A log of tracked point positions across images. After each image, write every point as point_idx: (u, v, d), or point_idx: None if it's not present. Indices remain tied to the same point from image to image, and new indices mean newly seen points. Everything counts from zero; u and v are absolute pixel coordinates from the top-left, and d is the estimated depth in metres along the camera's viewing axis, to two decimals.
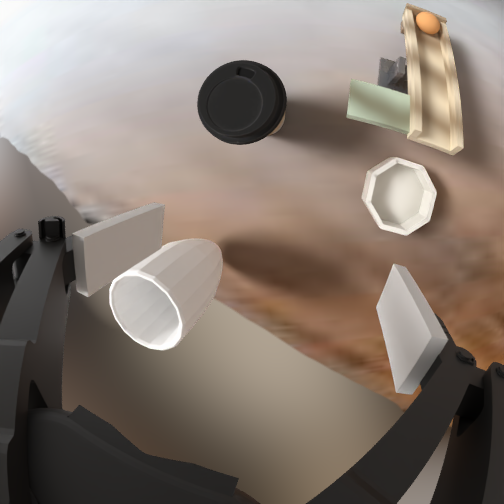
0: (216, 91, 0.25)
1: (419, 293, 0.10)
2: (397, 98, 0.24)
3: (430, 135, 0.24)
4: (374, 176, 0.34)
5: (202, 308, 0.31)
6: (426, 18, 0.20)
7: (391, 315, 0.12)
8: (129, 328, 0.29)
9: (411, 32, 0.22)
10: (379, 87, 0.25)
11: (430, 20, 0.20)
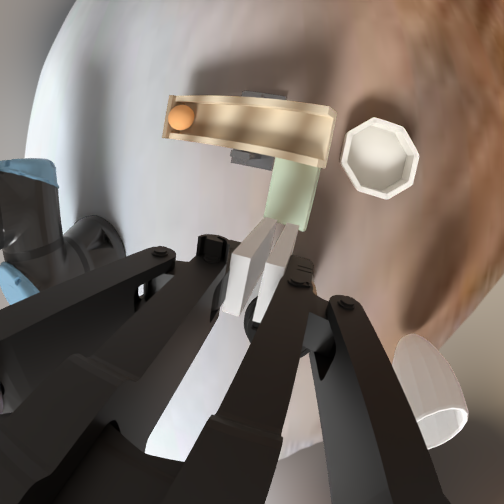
0: None
1: (290, 240, 0.14)
2: (281, 172, 0.29)
3: (319, 141, 0.26)
4: (361, 188, 0.34)
5: (449, 379, 0.25)
6: (176, 122, 0.32)
7: None
8: (441, 439, 0.24)
9: (198, 140, 0.32)
10: (270, 189, 0.31)
11: (177, 117, 0.32)
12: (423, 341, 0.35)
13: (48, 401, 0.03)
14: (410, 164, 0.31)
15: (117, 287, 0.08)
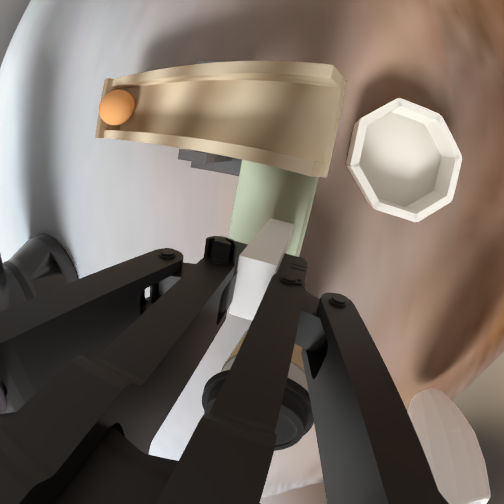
0: None
1: (284, 238, 0.14)
2: (251, 184, 0.18)
3: (315, 129, 0.15)
4: (380, 205, 0.22)
5: (474, 462, 0.13)
6: (106, 114, 0.20)
7: None
8: None
9: (134, 138, 0.21)
10: (235, 213, 0.19)
11: (108, 107, 0.20)
12: (445, 403, 0.23)
13: (51, 403, 0.03)
14: (449, 170, 0.20)
15: (123, 289, 0.08)
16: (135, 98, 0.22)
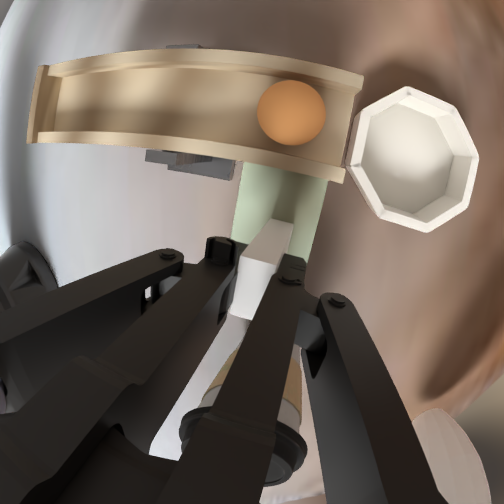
0: None
1: (284, 238, 0.14)
2: (257, 188, 0.16)
3: (330, 133, 0.15)
4: (385, 213, 0.18)
5: (479, 491, 0.10)
6: None
7: None
8: None
9: (88, 140, 0.15)
10: (237, 220, 0.17)
11: None
12: (450, 427, 0.19)
13: (51, 403, 0.03)
14: (464, 171, 0.16)
15: (123, 289, 0.08)
16: (77, 89, 0.15)
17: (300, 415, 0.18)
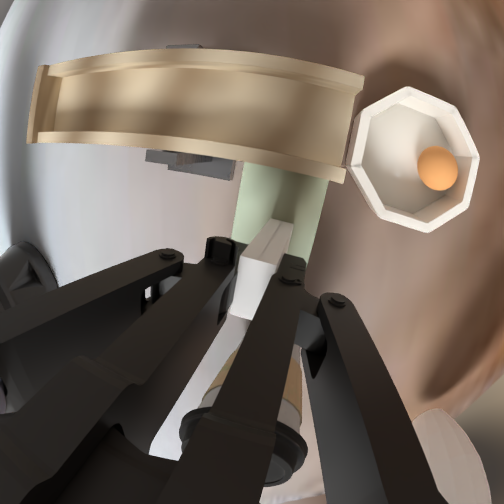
0: None
1: (284, 238, 0.14)
2: (257, 188, 0.16)
3: (330, 133, 0.15)
4: (385, 213, 0.18)
5: (479, 492, 0.10)
6: None
7: None
8: None
9: (88, 140, 0.15)
10: (237, 220, 0.17)
11: None
12: (450, 427, 0.19)
13: (51, 403, 0.03)
14: (464, 171, 0.16)
15: (123, 289, 0.08)
16: (77, 89, 0.15)
17: (300, 415, 0.18)
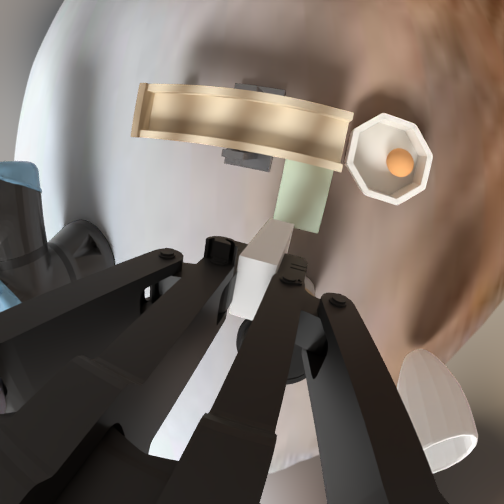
0: None
1: (284, 238, 0.14)
2: (292, 175, 0.28)
3: (334, 144, 0.26)
4: (369, 192, 0.30)
5: (459, 403, 0.21)
6: None
7: None
8: (447, 463, 0.20)
9: (186, 139, 0.27)
10: (280, 193, 0.29)
11: None
12: (432, 358, 0.31)
13: (51, 403, 0.03)
14: (422, 166, 0.28)
15: (123, 289, 0.08)
16: (169, 103, 0.27)
17: None
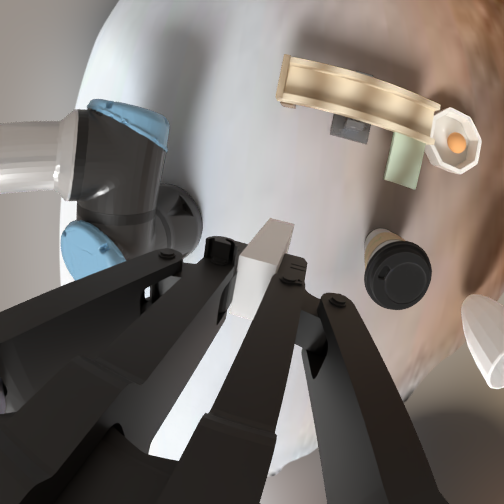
0: (391, 295, 0.32)
1: (284, 238, 0.14)
2: (399, 144, 0.32)
3: (426, 125, 0.31)
4: (442, 163, 0.34)
5: None
6: None
7: None
8: None
9: (326, 106, 0.31)
10: (391, 157, 0.33)
11: None
12: (487, 297, 0.35)
13: (51, 403, 0.03)
14: (474, 147, 0.32)
15: (123, 289, 0.08)
16: (304, 76, 0.31)
17: None
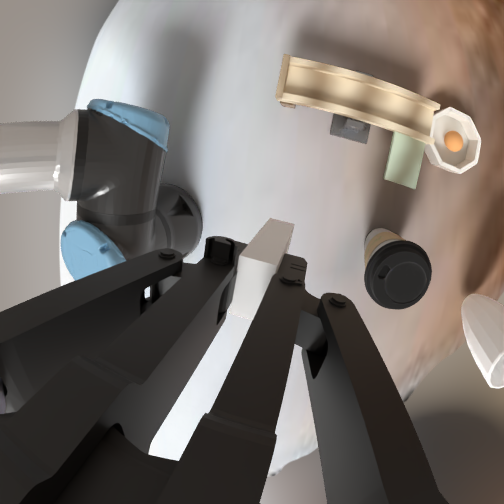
0: (391, 295, 0.32)
1: (284, 238, 0.14)
2: (399, 144, 0.32)
3: (425, 125, 0.31)
4: (442, 163, 0.34)
5: None
6: None
7: None
8: None
9: (326, 106, 0.31)
10: (391, 157, 0.33)
11: None
12: None
13: (51, 403, 0.03)
14: (474, 147, 0.32)
15: (123, 289, 0.08)
16: (303, 76, 0.31)
17: None
